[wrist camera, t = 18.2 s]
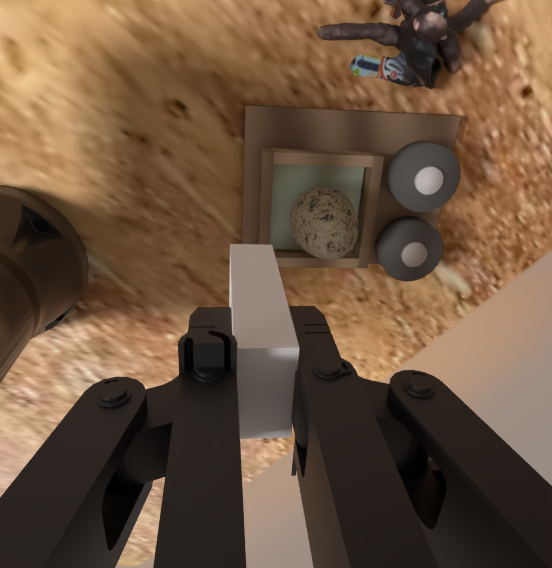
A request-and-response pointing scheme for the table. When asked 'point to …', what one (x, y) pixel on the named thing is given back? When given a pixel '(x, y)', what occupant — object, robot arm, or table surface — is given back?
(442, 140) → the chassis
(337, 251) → the decorative egg
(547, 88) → the table surface
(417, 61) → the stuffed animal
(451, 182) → the wheel
